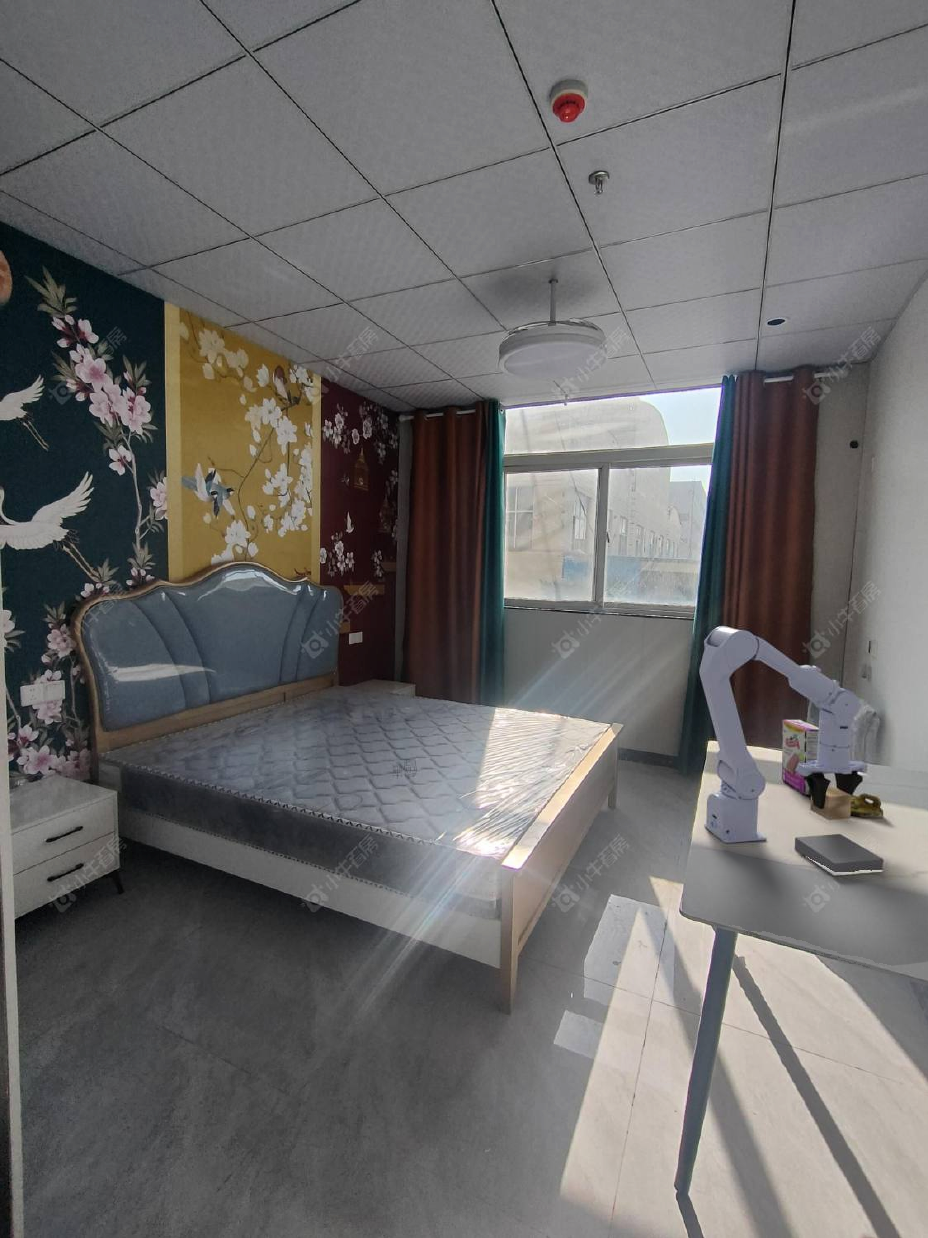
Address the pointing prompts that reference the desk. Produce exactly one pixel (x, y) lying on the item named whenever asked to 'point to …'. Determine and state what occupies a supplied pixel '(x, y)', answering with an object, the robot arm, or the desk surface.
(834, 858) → the charcoal plinth
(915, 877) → the desk surface
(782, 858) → the desk surface
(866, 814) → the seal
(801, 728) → the candy bar box
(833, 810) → the oak cube
